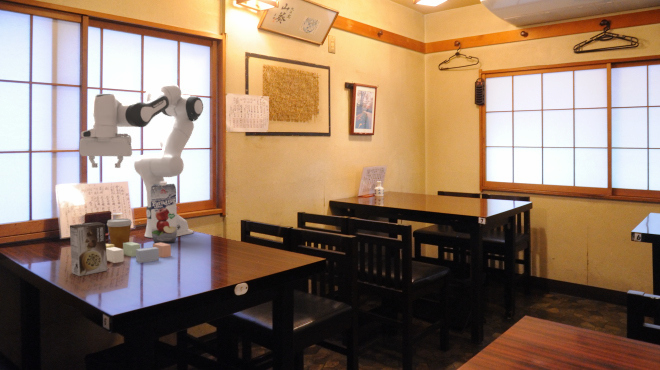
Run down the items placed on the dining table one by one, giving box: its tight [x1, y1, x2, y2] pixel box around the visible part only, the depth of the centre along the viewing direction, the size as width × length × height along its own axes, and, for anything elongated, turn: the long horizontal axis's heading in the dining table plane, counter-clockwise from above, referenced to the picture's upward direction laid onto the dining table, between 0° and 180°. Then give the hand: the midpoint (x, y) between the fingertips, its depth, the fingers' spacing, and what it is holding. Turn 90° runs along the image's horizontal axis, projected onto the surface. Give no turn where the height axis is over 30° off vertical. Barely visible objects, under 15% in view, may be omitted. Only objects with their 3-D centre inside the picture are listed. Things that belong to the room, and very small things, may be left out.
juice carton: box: [151, 180, 178, 244], centre depth 207 cm, size 9×10×27 cm
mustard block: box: [106, 243, 114, 248], centre depth 180 cm, size 4×7×4 cm, turn 69°
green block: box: [123, 241, 141, 258], centre depth 182 cm, size 4×7×4 cm, turn 49°
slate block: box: [135, 246, 160, 264], centre depth 172 cm, size 4×7×4 cm, turn 129°
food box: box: [69, 221, 108, 277], centre depth 155 cm, size 9×6×16 cm
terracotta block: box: [152, 243, 172, 258], centre depth 181 cm, size 4×7×4 cm, turn 49°
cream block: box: [106, 247, 125, 264], centre depth 172 cm, size 4×7×4 cm, turn 49°
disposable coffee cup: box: [106, 218, 133, 249], centre depth 193 cm, size 10×10×12 cm
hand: (106, 167), depth 190 cm, fingers open, 8 cm apart
